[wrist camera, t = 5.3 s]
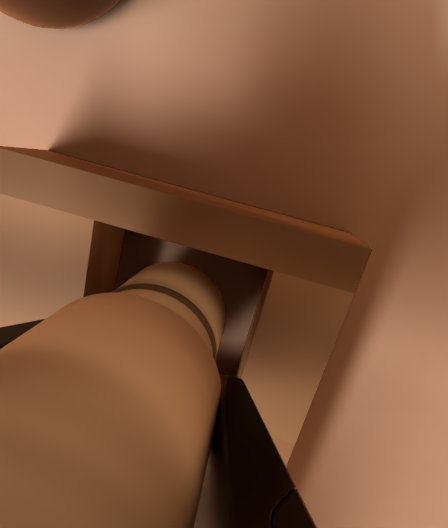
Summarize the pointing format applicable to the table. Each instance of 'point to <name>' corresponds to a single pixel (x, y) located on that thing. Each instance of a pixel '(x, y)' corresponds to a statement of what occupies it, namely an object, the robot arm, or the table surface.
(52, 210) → the board
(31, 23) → the supplement bottle
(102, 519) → the peg
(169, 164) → the table surface
